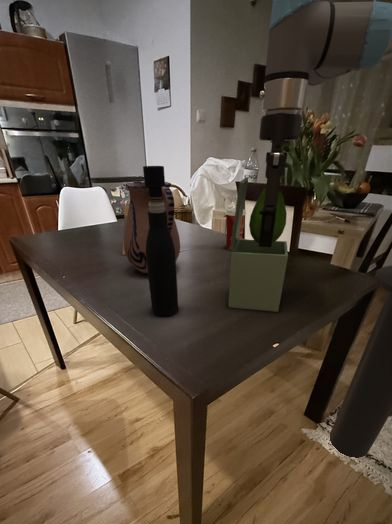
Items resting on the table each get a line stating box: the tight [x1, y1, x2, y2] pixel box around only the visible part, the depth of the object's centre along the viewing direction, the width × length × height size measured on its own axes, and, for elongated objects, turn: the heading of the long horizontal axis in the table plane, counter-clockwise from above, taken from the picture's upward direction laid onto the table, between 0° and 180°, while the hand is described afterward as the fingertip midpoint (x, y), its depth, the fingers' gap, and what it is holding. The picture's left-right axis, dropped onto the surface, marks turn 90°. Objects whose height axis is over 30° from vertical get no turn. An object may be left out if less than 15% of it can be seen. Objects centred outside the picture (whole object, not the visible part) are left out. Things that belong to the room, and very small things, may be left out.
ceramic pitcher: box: [123, 180, 181, 274], centre depth 85 cm, size 18×21×25 cm
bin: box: [227, 238, 289, 313], centre depth 70 cm, size 12×12×14 cm
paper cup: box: [225, 207, 247, 252], centre depth 108 cm, size 8×8×14 cm
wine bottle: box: [142, 165, 179, 318], centre depth 61 cm, size 6×6×30 cm
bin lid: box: [229, 177, 249, 251], centre depth 63 cm, size 13×12×1 cm
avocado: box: [248, 187, 287, 243], centre depth 62 cm, size 8×8×12 cm
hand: (265, 241), depth 65 cm, fingers closed on avocado, 8 cm apart
